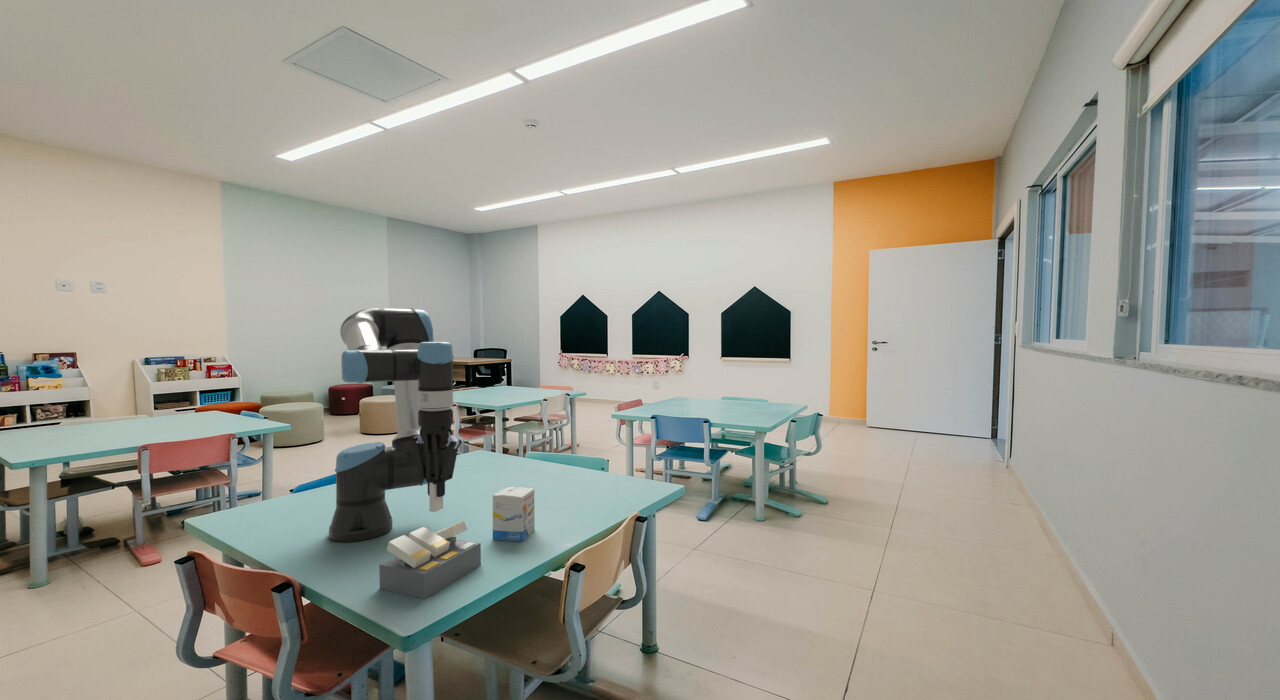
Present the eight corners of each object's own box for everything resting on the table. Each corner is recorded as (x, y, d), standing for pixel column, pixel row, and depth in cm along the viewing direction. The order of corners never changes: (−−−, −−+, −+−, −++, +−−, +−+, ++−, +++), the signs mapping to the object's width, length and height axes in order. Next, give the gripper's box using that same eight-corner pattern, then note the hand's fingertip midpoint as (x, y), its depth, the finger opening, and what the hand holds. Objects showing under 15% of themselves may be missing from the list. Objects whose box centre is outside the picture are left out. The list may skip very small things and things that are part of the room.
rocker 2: (407, 540, 111) (409, 532, 111) (421, 534, 115) (423, 526, 115) (434, 557, 108) (436, 548, 108) (448, 550, 112) (450, 541, 112)
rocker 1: (386, 549, 106) (388, 540, 106) (402, 542, 110) (404, 534, 110) (414, 568, 103) (416, 559, 103) (429, 560, 107) (431, 551, 107)
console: (379, 588, 106) (379, 559, 106) (440, 556, 121) (439, 531, 121) (424, 598, 101) (423, 568, 101) (480, 564, 117) (480, 538, 117)
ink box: (522, 542, 130) (521, 496, 130) (491, 539, 132) (491, 494, 132) (535, 530, 139) (535, 487, 139) (506, 528, 140) (506, 485, 140)
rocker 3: (429, 544, 116) (426, 535, 116) (442, 538, 120) (439, 529, 120) (454, 535, 113) (452, 526, 114) (467, 529, 117) (464, 521, 117)
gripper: (401, 409, 117) (402, 511, 117) (446, 412, 112) (446, 518, 112) (426, 405, 123) (427, 501, 124) (469, 407, 119) (470, 508, 119)
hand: (436, 509), depth 118 cm, fingers closed
